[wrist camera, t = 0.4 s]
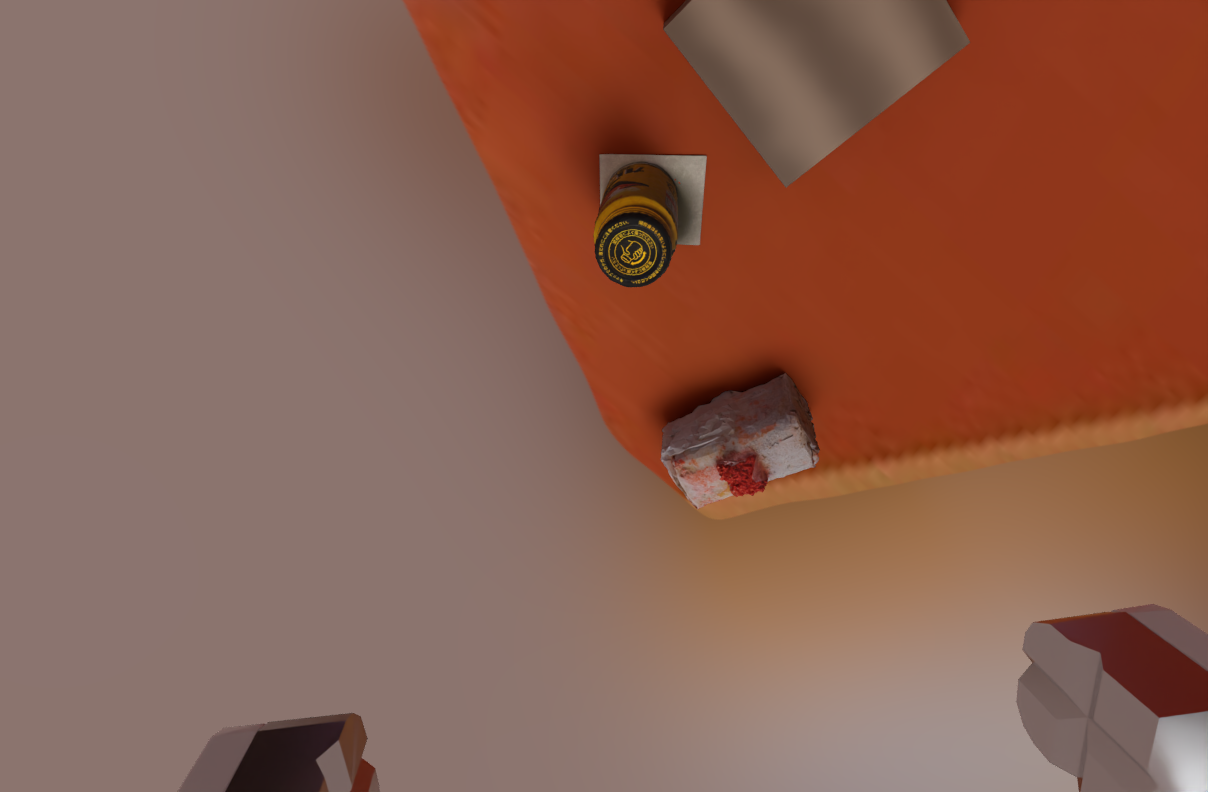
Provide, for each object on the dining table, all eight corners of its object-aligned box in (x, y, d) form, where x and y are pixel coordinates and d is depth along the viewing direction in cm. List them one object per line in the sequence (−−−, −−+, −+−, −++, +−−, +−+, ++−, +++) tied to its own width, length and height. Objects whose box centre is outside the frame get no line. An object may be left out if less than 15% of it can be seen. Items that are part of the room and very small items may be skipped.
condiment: (599, 153, 52) (582, 202, 42) (706, 155, 51) (714, 205, 41) (600, 240, 56) (584, 303, 46) (699, 243, 55) (704, 307, 46)
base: (837, -155, 40) (852, -163, 37) (948, 35, 45) (970, 42, 42) (663, 23, 46) (663, 29, 43) (778, 172, 51) (785, 187, 48)
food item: (694, 466, 70) (696, 534, 61) (656, 413, 66) (653, 479, 58) (815, 415, 64) (836, 483, 56) (781, 356, 61) (798, 419, 53)
